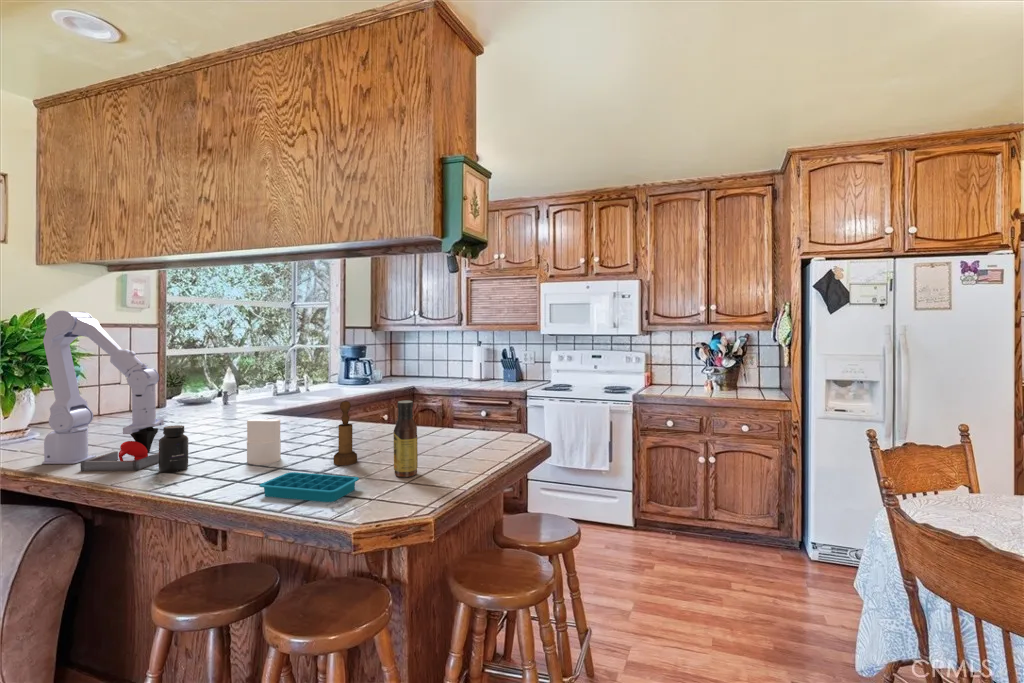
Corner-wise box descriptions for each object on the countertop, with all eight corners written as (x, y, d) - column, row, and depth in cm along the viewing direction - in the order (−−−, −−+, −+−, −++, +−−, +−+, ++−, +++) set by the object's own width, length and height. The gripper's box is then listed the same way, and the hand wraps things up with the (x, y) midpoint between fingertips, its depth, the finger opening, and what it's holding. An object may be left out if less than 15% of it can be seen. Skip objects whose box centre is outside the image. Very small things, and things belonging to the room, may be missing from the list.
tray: (80, 471, 136) (80, 461, 136) (114, 459, 148) (114, 451, 148) (136, 470, 137) (136, 461, 137) (165, 459, 149) (165, 451, 149)
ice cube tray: (333, 505, 111) (333, 492, 111) (256, 498, 116) (256, 485, 116) (361, 489, 122) (361, 477, 122) (289, 483, 127) (289, 471, 127)
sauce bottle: (397, 471, 137) (397, 399, 137) (420, 471, 137) (420, 399, 136) (390, 478, 130) (390, 402, 130) (414, 478, 130) (413, 402, 130)
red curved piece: (108, 453, 143) (120, 443, 142) (125, 441, 149) (137, 432, 147) (129, 473, 145) (141, 464, 144) (145, 461, 151) (157, 452, 149)
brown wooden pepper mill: (347, 466, 142) (347, 403, 142) (328, 464, 144) (328, 402, 144) (361, 460, 148) (361, 400, 148) (343, 458, 150) (343, 399, 150)
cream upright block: (286, 456, 153) (286, 417, 153) (271, 464, 144) (270, 423, 144) (257, 456, 153) (257, 417, 153) (240, 464, 144) (240, 422, 144)
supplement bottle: (177, 473, 135) (177, 429, 134) (152, 473, 135) (152, 428, 134) (194, 466, 141) (193, 424, 141) (170, 466, 142) (170, 424, 141)
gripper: (140, 412, 143) (140, 459, 143) (173, 404, 158) (173, 447, 158) (115, 412, 143) (115, 459, 143) (150, 405, 157) (151, 447, 158)
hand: (144, 453), depth 150 cm, fingers closed
